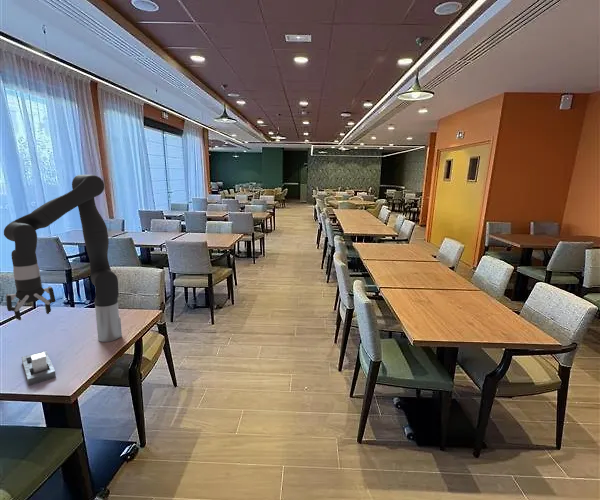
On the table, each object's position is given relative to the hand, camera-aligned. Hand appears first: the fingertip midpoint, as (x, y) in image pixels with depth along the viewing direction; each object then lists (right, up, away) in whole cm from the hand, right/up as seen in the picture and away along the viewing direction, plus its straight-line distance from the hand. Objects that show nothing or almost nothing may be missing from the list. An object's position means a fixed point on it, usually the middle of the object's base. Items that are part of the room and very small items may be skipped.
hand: (34, 316), depth 127 cm
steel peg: (+4, -22, -2) cm, 22 cm away
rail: (0, -21, +2) cm, 21 cm away
